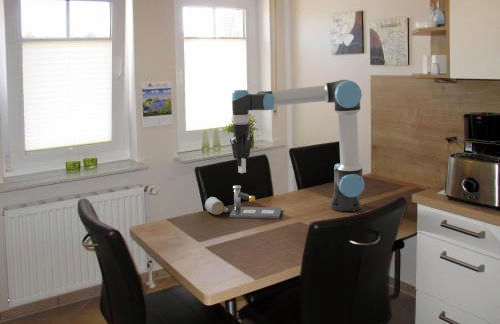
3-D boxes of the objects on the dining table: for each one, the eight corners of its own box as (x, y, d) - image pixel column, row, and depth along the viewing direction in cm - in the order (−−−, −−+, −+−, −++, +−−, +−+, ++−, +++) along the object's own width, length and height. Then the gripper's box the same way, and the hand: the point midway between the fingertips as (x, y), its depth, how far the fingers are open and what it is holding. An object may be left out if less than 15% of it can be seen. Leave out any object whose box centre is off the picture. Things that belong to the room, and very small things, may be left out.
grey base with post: (281, 210, 262) (281, 185, 260) (279, 218, 249) (278, 192, 246) (234, 209, 266) (234, 184, 263) (229, 217, 252) (229, 192, 250)
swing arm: (238, 197, 258) (237, 192, 258) (242, 196, 260) (242, 191, 259) (251, 202, 249) (251, 197, 249) (255, 201, 251) (255, 196, 250)
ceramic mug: (212, 216, 254) (211, 201, 253) (204, 212, 261) (204, 197, 259) (231, 213, 259) (231, 198, 258) (223, 209, 266) (223, 194, 265)
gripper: (245, 121, 250) (246, 168, 255) (224, 124, 240) (226, 173, 245) (256, 122, 245) (257, 170, 250) (236, 125, 235) (237, 176, 240)
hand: (242, 172), depth 248 cm, fingers closed
